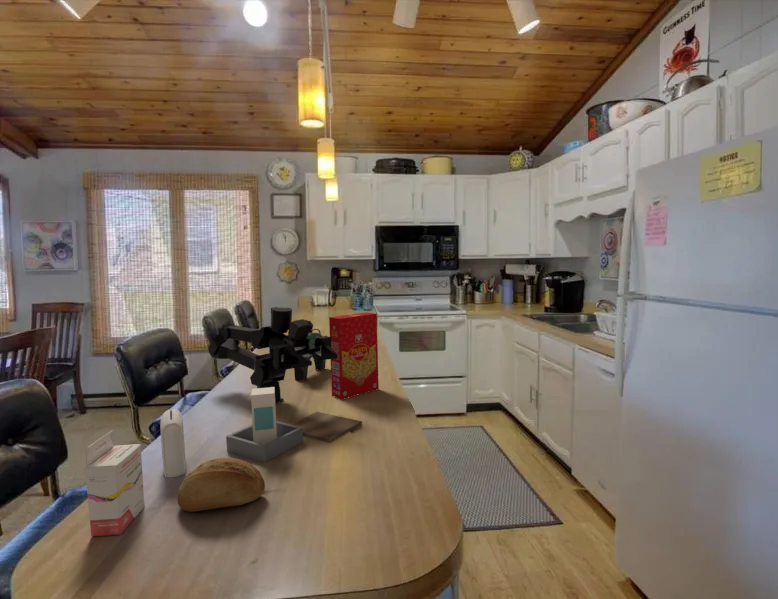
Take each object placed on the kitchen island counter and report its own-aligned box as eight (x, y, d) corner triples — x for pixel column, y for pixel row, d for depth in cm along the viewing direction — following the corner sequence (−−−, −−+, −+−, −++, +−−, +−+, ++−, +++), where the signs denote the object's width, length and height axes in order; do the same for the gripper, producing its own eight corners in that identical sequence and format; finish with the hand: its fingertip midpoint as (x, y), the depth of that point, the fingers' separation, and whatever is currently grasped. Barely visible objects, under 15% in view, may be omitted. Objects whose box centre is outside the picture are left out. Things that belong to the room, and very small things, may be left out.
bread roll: (264, 513, 77) (261, 468, 76) (170, 526, 74) (167, 480, 73) (266, 485, 86) (264, 445, 86) (183, 496, 83) (180, 455, 82)
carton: (255, 442, 104) (252, 388, 103) (277, 440, 106) (274, 386, 104) (253, 452, 99) (250, 395, 98) (277, 449, 101) (274, 393, 99)
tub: (227, 453, 101) (226, 436, 100) (266, 434, 111) (266, 418, 110) (264, 465, 94) (264, 447, 94) (303, 443, 105) (302, 427, 104)
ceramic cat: (303, 382, 155) (301, 325, 153) (287, 381, 158) (284, 325, 156) (330, 368, 174) (328, 317, 172) (315, 367, 176) (313, 317, 174)
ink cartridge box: (122, 535, 72) (114, 447, 70) (90, 537, 71) (81, 449, 70) (146, 505, 80) (140, 426, 78) (117, 507, 80) (110, 428, 78)
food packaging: (341, 399, 136) (338, 318, 133) (331, 395, 140) (329, 317, 137) (378, 389, 146) (376, 313, 143) (368, 386, 150) (366, 312, 147)
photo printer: (164, 461, 97) (159, 406, 96) (185, 456, 99) (181, 403, 98) (163, 482, 88) (158, 422, 87) (187, 477, 90) (182, 418, 89)
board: (282, 432, 112) (282, 427, 112) (316, 415, 123) (316, 411, 123) (330, 444, 104) (329, 439, 104) (361, 425, 115) (361, 421, 115)
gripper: (260, 322, 118) (298, 336, 109) (313, 314, 133) (351, 325, 123) (258, 362, 120) (296, 379, 111) (311, 350, 135) (348, 363, 125)
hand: (324, 359), depth 117 cm, fingers open, 9 cm apart
